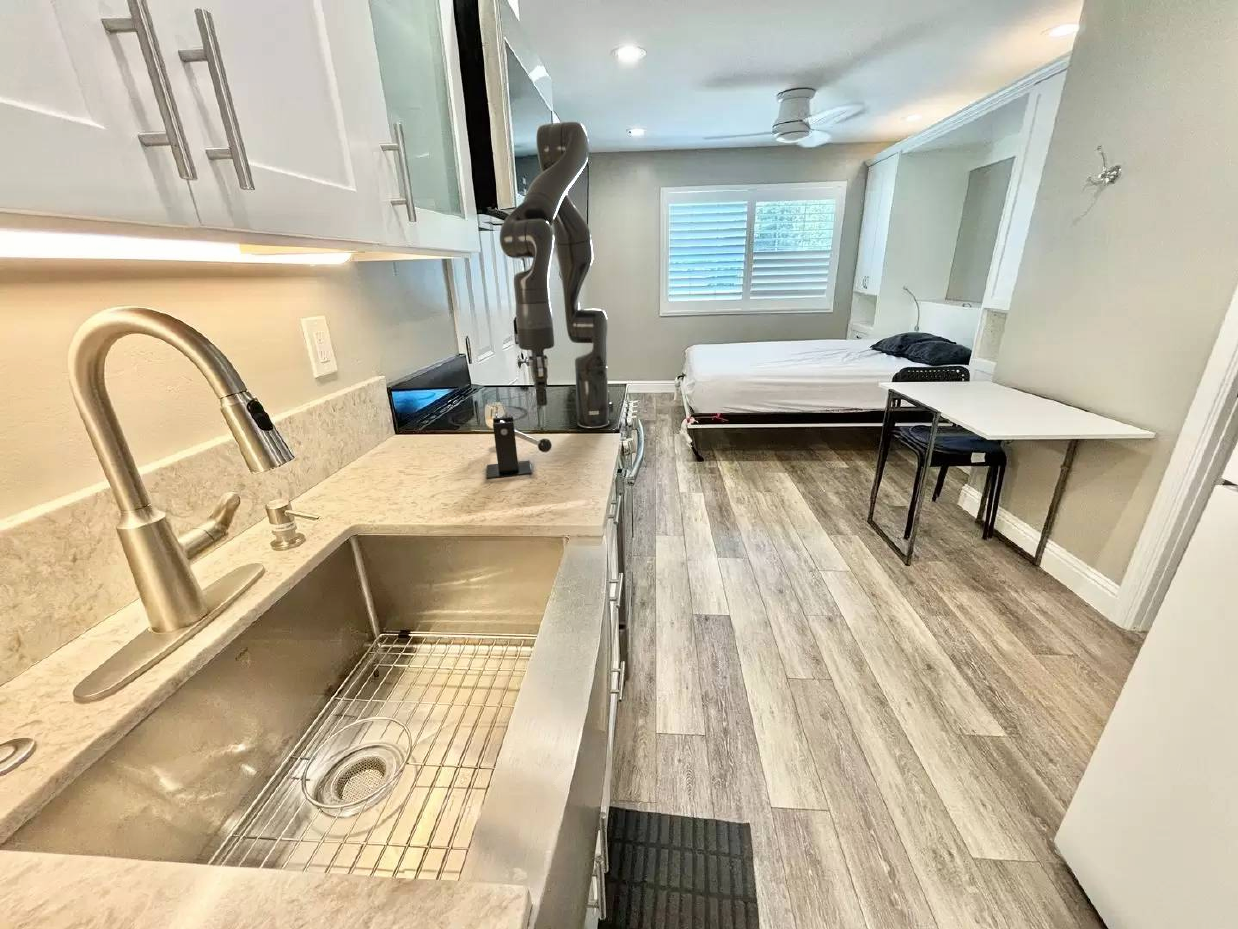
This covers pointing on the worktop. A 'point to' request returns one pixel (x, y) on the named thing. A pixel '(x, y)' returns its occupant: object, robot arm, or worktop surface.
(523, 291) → the robot arm
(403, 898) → the worktop surface
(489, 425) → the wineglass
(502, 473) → the black lever stand
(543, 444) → the tap lever
